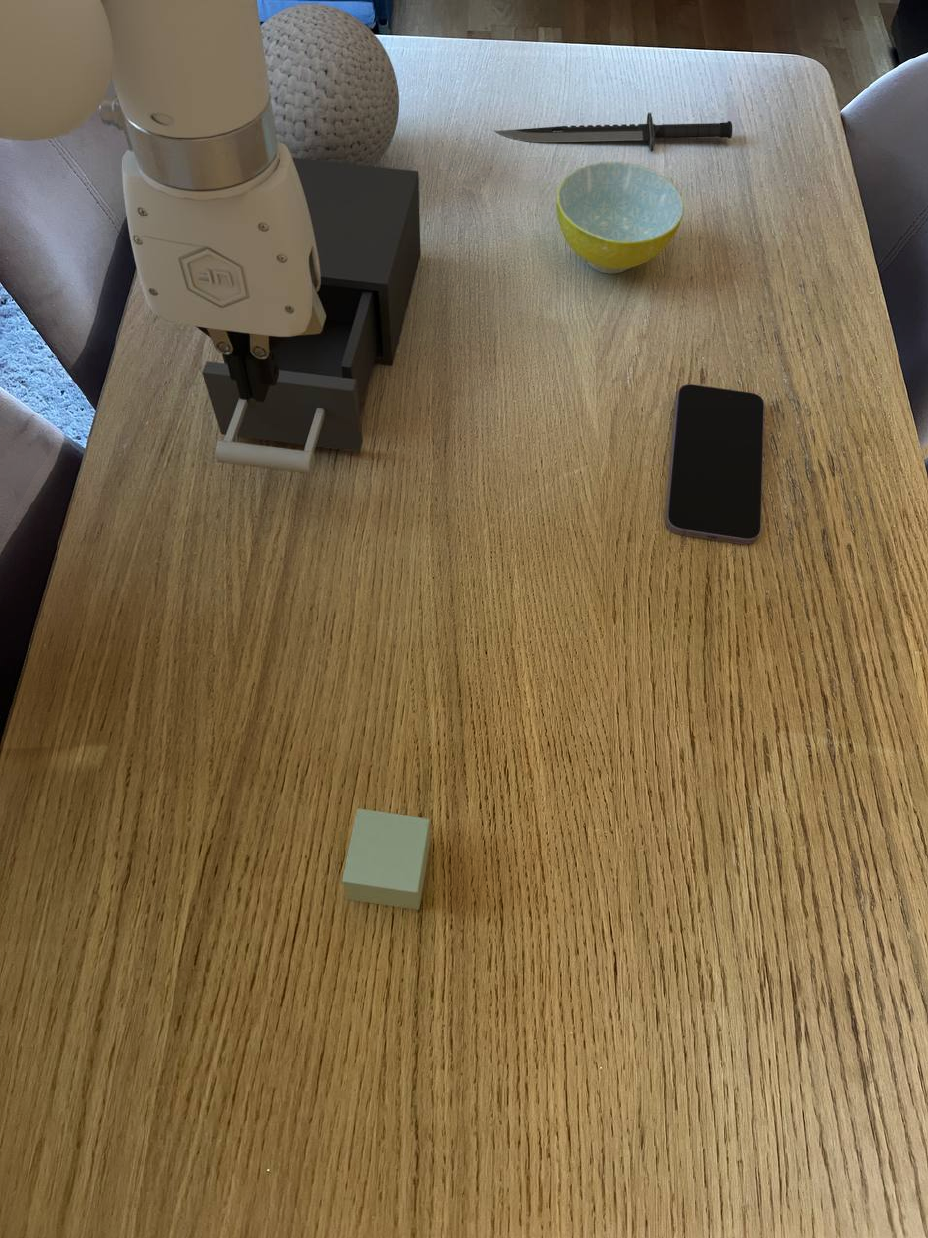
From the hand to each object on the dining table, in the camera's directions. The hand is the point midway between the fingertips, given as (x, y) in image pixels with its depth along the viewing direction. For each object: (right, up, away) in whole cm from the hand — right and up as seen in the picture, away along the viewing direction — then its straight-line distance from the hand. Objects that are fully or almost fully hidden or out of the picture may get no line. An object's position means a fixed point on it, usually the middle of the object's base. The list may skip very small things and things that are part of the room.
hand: (257, 386), depth 63 cm
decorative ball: (+1, +29, +28) cm, 40 cm away
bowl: (+28, +18, +23) cm, 40 cm away
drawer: (+1, +1, +11) cm, 11 cm away
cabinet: (+3, +13, +19) cm, 23 cm away
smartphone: (+35, -4, +10) cm, 36 cm away
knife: (+30, +34, +33) cm, 56 cm away
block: (+10, -32, -7) cm, 34 cm away
